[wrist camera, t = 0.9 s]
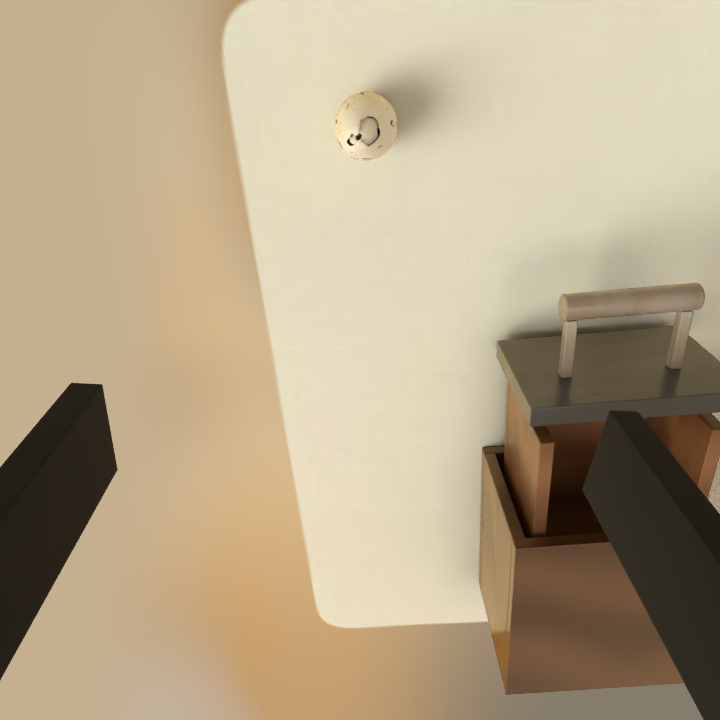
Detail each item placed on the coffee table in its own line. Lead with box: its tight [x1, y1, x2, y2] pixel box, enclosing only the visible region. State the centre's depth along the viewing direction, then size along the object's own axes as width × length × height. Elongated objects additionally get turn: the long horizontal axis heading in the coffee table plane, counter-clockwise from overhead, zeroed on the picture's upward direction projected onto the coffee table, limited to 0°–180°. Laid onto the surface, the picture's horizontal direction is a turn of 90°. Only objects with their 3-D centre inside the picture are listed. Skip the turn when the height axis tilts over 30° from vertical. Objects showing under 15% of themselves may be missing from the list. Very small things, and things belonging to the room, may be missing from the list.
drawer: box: [497, 283, 720, 538], centre depth 34 cm, size 18×11×8 cm, turn 5°
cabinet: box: [479, 446, 684, 695], centre depth 40 cm, size 15×13×10 cm
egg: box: [335, 92, 397, 160], centre depth 28 cm, size 3×3×5 cm
